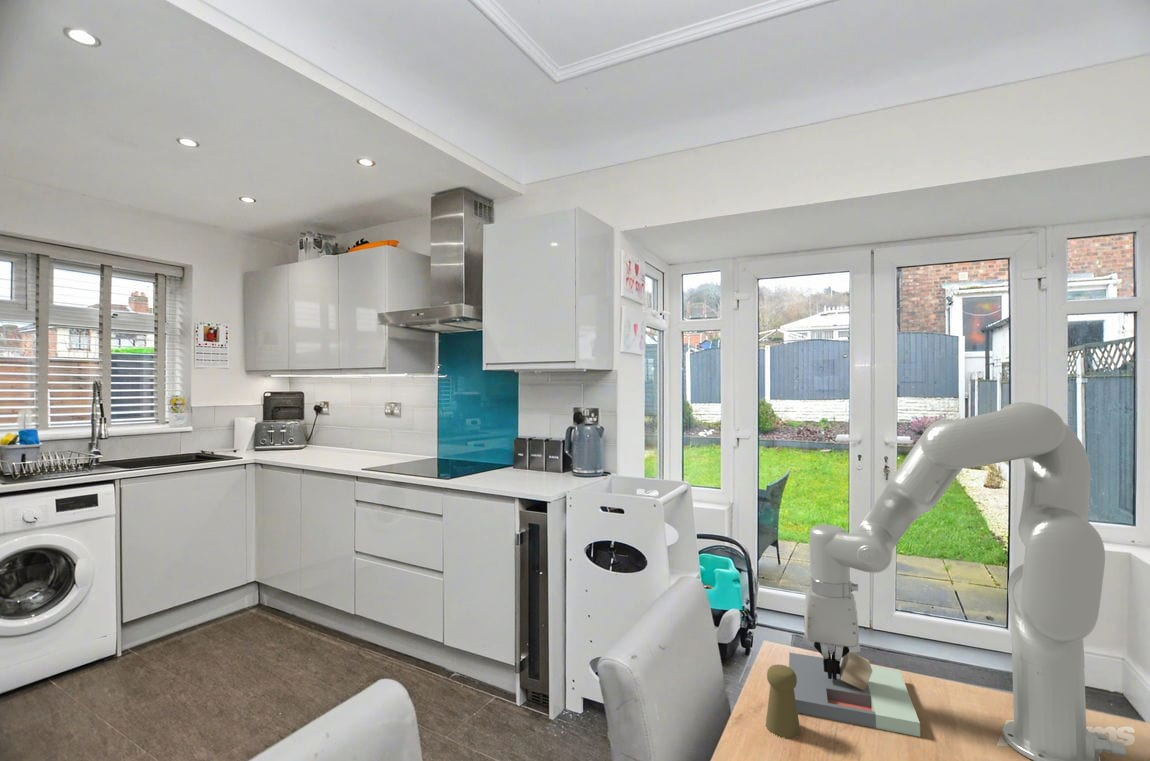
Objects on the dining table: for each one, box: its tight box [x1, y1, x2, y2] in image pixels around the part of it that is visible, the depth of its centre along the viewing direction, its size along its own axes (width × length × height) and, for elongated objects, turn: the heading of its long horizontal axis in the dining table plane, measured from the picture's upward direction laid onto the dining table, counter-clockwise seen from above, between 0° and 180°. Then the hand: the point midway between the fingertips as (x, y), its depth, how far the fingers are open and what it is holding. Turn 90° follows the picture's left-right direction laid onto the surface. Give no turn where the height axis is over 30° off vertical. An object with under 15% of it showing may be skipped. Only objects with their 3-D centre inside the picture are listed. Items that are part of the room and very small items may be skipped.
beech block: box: [839, 652, 873, 691], centre depth 110 cm, size 4×4×4 cm
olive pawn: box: [765, 664, 801, 739], centre depth 101 cm, size 6×6×11 cm
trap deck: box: [788, 652, 921, 738], centre depth 111 cm, size 22×20×2 cm
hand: (831, 676), depth 112 cm, fingers closed
